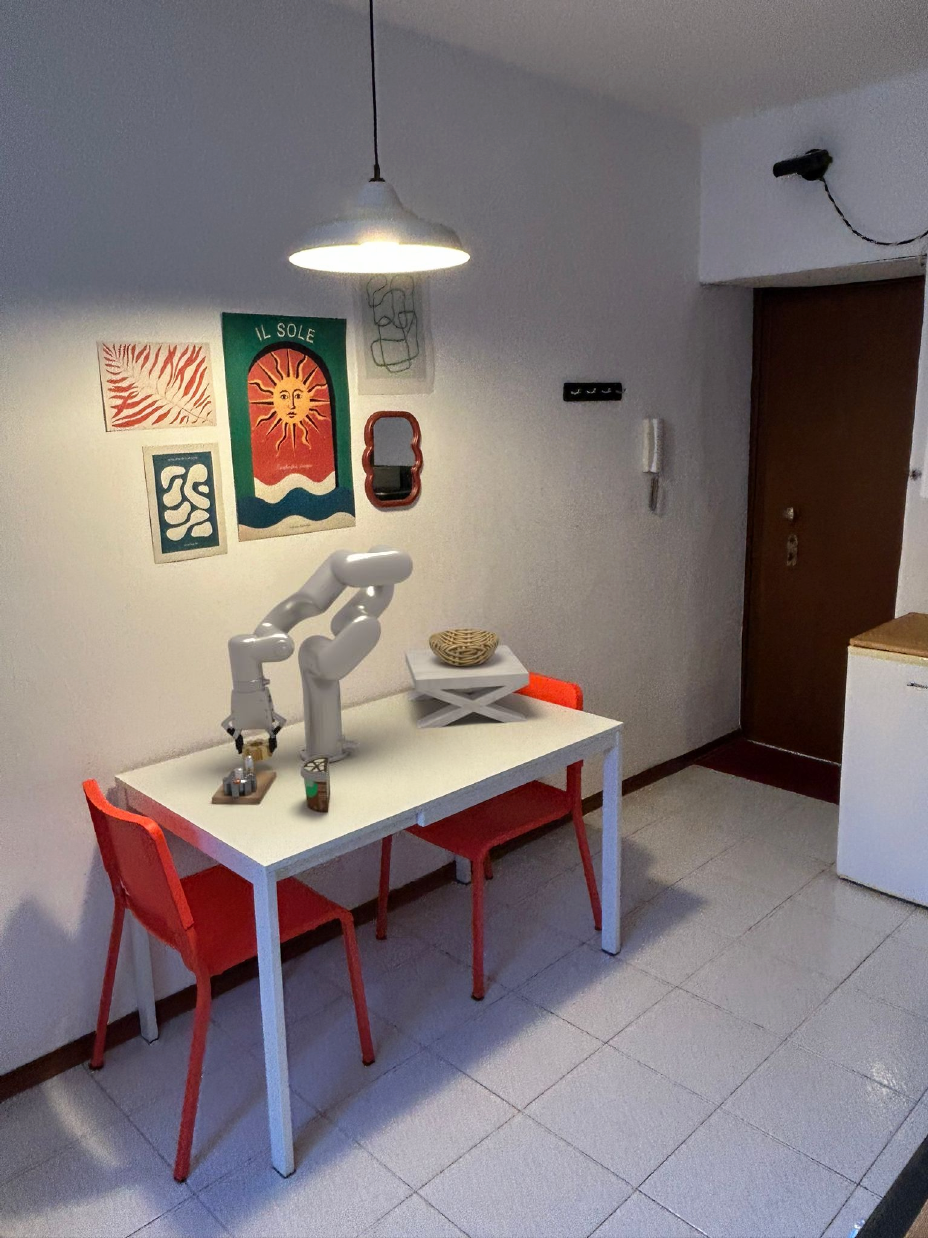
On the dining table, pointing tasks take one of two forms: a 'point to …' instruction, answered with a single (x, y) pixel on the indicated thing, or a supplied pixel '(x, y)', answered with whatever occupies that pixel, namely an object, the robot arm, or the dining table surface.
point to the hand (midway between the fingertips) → (257, 751)
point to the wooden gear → (256, 750)
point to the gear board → (263, 786)
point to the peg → (249, 764)
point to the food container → (317, 782)
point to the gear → (239, 783)
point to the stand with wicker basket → (465, 676)
